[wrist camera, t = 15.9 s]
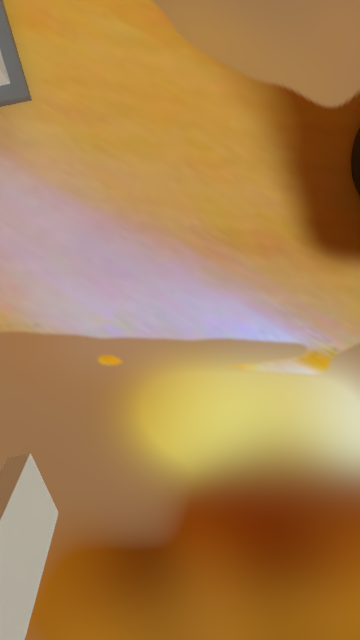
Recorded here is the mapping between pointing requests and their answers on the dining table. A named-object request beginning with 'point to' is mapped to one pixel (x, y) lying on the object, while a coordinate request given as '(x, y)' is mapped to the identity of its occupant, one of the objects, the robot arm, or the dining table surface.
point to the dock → (10, 66)
